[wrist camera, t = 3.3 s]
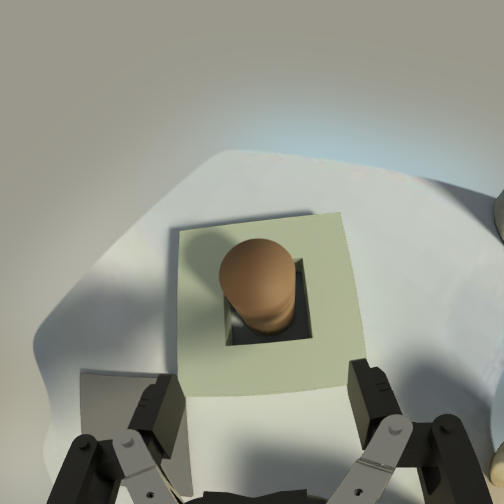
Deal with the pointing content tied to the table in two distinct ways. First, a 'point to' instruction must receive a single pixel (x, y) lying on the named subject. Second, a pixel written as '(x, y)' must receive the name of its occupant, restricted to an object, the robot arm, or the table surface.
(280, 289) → the walnut pin
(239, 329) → the table surface
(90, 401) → the rubber mat
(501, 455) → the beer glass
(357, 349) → the collar block
